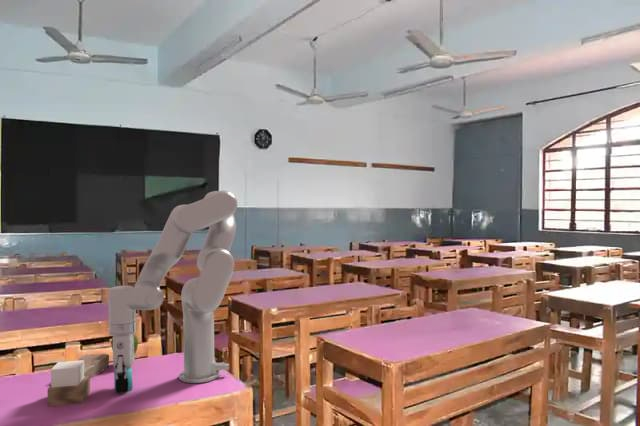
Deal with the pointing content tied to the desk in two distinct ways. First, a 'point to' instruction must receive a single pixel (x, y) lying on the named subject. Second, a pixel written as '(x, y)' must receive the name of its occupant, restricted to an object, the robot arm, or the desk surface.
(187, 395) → the desk surface
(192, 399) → the desk surface
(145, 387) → the desk surface
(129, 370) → the cylinder
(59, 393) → the tower base
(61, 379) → the tower top
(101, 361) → the brick
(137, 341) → the green egg shape
